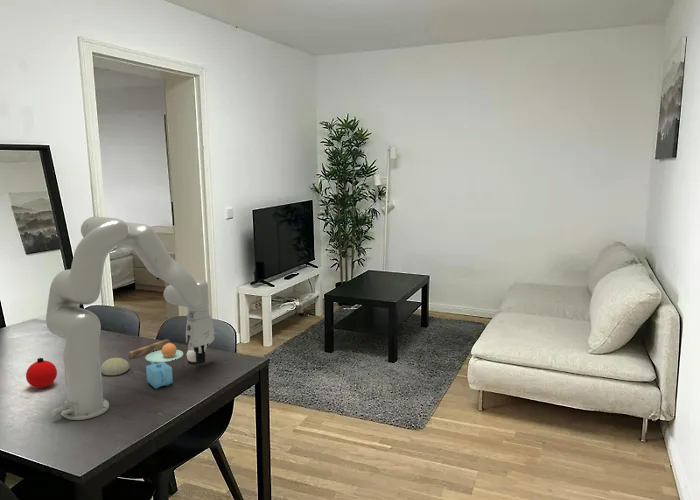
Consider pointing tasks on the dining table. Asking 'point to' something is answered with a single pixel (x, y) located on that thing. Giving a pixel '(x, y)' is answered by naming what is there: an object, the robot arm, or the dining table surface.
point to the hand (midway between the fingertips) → (200, 361)
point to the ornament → (41, 373)
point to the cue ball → (191, 356)
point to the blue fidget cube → (159, 374)
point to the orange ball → (169, 350)
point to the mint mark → (162, 356)
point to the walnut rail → (147, 349)
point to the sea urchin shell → (114, 366)
